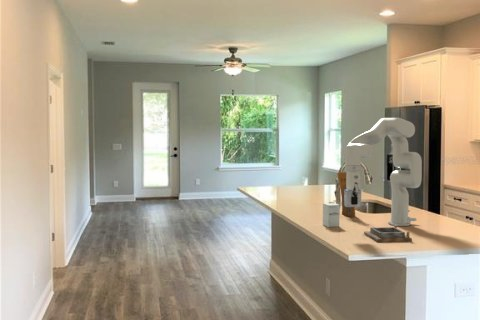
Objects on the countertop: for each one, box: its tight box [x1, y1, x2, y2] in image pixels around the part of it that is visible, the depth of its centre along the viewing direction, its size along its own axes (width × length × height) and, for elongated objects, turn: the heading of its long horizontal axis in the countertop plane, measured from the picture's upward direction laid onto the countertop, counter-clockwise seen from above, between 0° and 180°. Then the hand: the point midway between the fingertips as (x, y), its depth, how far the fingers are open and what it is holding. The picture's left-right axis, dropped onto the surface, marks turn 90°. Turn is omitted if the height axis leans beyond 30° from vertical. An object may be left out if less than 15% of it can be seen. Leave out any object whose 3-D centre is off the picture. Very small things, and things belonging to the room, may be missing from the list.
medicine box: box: [344, 189, 362, 208], centre depth 252 cm, size 8×4×9 cm, turn 92°
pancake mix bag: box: [337, 171, 356, 218], centre depth 314 cm, size 7×19×28 cm, turn 15°
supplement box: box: [322, 202, 341, 228], centre depth 281 cm, size 7×7×13 cm
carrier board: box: [363, 225, 413, 243], centre depth 250 cm, size 18×18×4 cm
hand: (352, 203), depth 253 cm, fingers closed on medicine box, 4 cm apart
